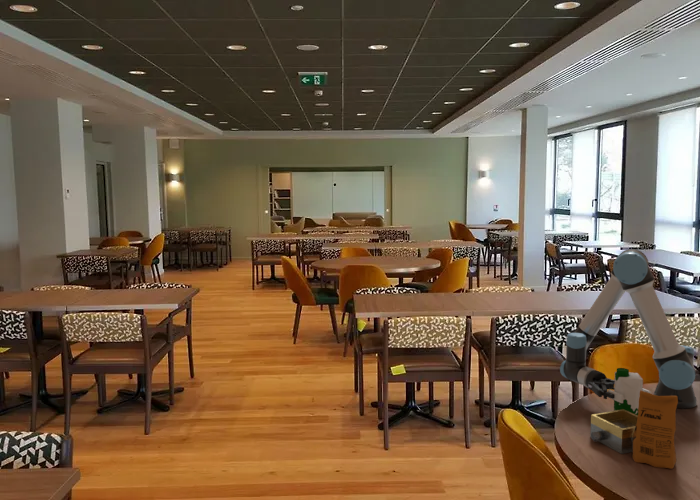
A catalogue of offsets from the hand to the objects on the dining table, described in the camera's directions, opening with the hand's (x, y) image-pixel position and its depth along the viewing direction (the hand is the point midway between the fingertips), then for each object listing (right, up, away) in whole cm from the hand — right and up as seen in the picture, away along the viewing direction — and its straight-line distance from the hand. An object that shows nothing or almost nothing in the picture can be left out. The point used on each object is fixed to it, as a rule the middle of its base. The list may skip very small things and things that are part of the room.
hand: (636, 397), depth 213 cm
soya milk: (-1, -11, +5) cm, 12 cm away
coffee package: (-7, -14, -25) cm, 30 cm away
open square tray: (-12, -12, -12) cm, 21 cm away
